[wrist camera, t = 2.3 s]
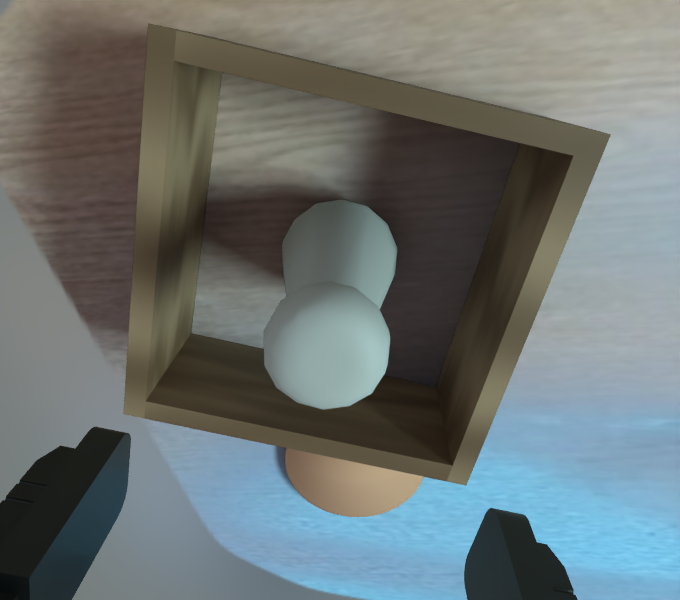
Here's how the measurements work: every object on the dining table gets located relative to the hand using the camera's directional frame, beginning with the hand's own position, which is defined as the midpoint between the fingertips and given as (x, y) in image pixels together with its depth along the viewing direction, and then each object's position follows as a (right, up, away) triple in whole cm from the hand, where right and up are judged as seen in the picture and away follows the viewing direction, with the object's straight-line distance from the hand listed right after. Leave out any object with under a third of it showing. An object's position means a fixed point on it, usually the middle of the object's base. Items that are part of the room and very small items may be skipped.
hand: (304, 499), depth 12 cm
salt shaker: (+1, +8, +17) cm, 19 cm away
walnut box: (+1, +7, +17) cm, 19 cm away
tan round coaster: (+2, -6, +23) cm, 24 cm away
